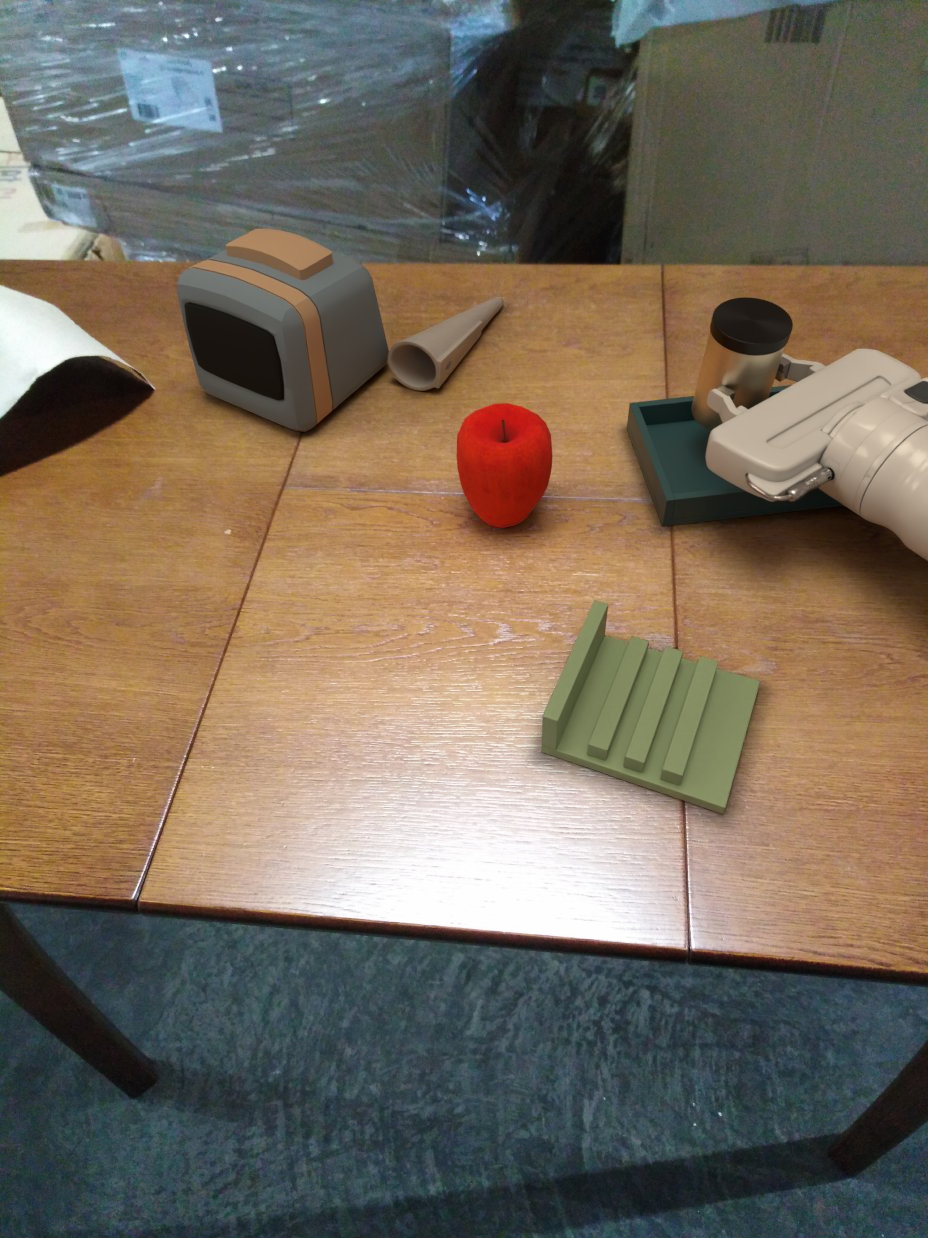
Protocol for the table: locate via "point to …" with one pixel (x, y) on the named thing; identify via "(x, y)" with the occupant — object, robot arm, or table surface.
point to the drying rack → (649, 715)
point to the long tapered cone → (439, 347)
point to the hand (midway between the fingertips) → (743, 377)
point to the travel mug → (741, 354)
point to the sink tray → (694, 468)
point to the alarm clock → (282, 326)
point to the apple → (504, 462)
